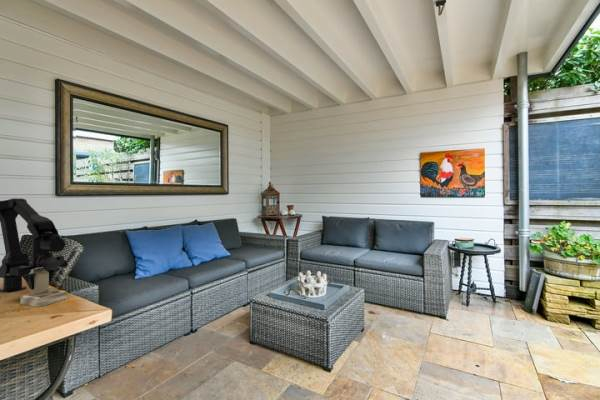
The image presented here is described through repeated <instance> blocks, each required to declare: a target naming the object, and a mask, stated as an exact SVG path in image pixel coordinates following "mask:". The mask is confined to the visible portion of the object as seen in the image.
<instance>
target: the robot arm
mask: <svg viewBox="0 0 600 400" xmlns="http://www.w3.org/2000/svg"><path fill="white" fill-rule="evenodd" d="M18 215H19V216H20V217H21V218H22V219H23V220H24V221H25V223H27V224H26V225H27V226H26V228H27V230H28V231H29V233H30V234H31V235H30V236H29V237H28V238H29V240H31V252H29V254H28V253H27V252H26V253H25V252H23V251H22V249H21V248H22V247H21V243H20V242H21V241H20V237H19V231H18V227H17V226H18V225H17V220H16V219H17V217H18ZM0 227H1V233H2V239H3V245H4V250H5V255H4V256H3V258H2V260H1V266H0V279H1V278H2V279H3V281H2V282H3V283H2V287H3V288H0V292H4V293H10V292H14V291H19V290H23V289H26V288H27V287H26V286H23V280H24V281H25V282H26V284H27V286H28V288H29V289H30V291H31V290H33V289H34V277H35V275H36V274H35V273H34V272H35V271H36V270H46V271H48V272H49V286H50V284H51V283H52V280H53V278H54V276H55V275H56V273H57V272H58V271H60V270H61V268H65V267H68V266H69V262H68V261H67V259H65V256H63V255H57V256H54V255H53V253H59V252H61V251H62V250H63V251H64V249H65V246H66V242H65V240H64V239H63V238H61V235H60V234H59V231H58V229H57V228H56V225H55V223H54V222H53V221H52V219H50V218H48V217H46V216H43V215H40V214H39V213H38V211H36V210H35V209H34V208H33V207H32V206H31V205H30V204H29V203H28V201H27V199H26V198H15V197H14V198H10V199H5V200H0ZM29 256H31V262H30V260H29Z"/></svg>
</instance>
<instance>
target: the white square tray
mask: <svg viewBox="0 0 600 400" xmlns="http://www.w3.org/2000/svg"><path fill="white" fill-rule="evenodd" d="M64 299H65V300H67V299H68V291H67V290H59V289H53V288H49V289H46V290H42V291H38V292H35V293H31V292H30V293H28V294H23V295H20V305H26V306H29V307H38V308H41V307H44V306H47V305H51V304H55V303H57V302H61V301H64Z"/></svg>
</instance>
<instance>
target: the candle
mask: <svg viewBox="0 0 600 400" xmlns="http://www.w3.org/2000/svg"><path fill="white" fill-rule="evenodd" d="M33 273H35V274H36V275H35V277H34V289H33V290H31V289H30V294H31V293H35V292H38V291H42V290H46V289H50V285H49V272H48V271H46V270H44V269H39V270H34V272H33Z"/></svg>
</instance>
